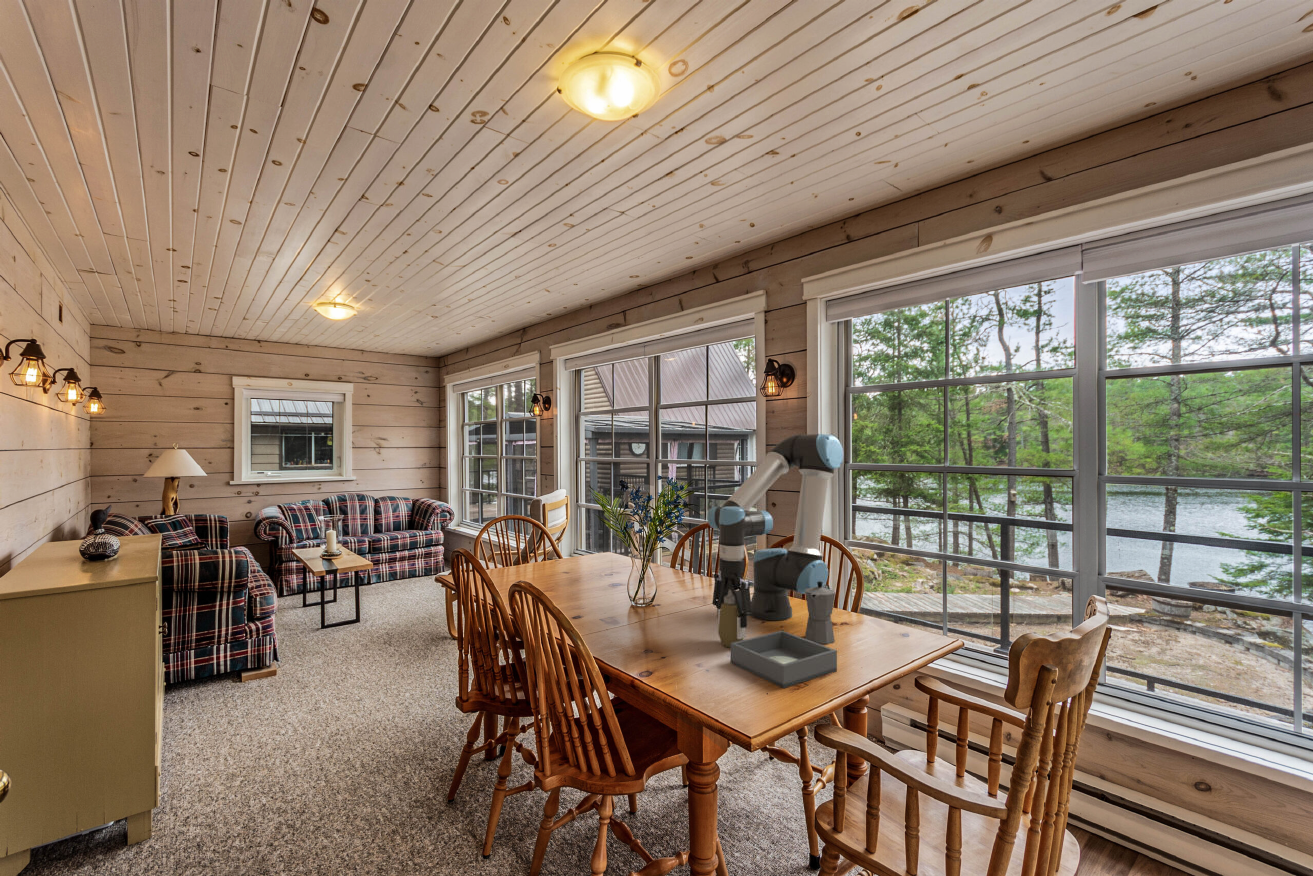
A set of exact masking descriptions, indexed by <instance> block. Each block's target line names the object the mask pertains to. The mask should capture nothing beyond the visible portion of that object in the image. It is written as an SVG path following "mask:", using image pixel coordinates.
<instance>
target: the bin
mask: <svg viewBox="0 0 1313 876" xmlns="http://www.w3.org/2000/svg"><path fill="white" fill-rule="evenodd" d="M731 663H732V665H733V664H734V665H733V666H735V667H738V668H739V669H742V670H744V671H746V670H747V671H746V672H748V671H749V673H750V672H751V674H752V673H753V675H754V674H755V676H757V677H759V678H761V679H763V680H765V681H767V682H769V683H771V682H772V684H773V683H774V685H775V684H776V686H777V687H780V688H782V689H787V688H789V686H790V687H793V686H795V685H799V684H802V683H804V682H808V681H811V680H813V679H817V678H820V677H823V676H826V674H827V675H829V673H830V674H832V672H833V673H836V672H837V671H838V650H837V649H834V648H831V647H829V646H826V645H824V644H818V643H815V642H812V641H810V640H807V639H806V638H803V637H801V636H798V635H795V634H793V633H790V632H788V631H785V630H778V631H774V632H769V633H766V634H762V635H758V636H755V637H750V638H747V639H745V638H744V639H743V640H741V641H737V642H733V643H731V647H730V664H731ZM822 675H823V676H822ZM819 676H820V677H819ZM786 687H787V688H786Z"/></svg>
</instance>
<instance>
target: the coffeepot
mask: <svg viewBox="0 0 1313 876" xmlns="http://www.w3.org/2000/svg"><path fill="white" fill-rule="evenodd" d="M822 583H823V582H821V581H818V582H817V584H818V587H812V588H807V589H805V593H806V594H805V600H806V606H807V613H808V617H807V623H806V629H805V635H804V637H805V638H804V639H807V640H810V641H812V642H815V643H818V644H820V645H830V644H829V643H831V644H833V643H834V642H835V633H834V629H833V622H832V614H833V610H834V602H835V596H836V593H835V590H834V589H831V587H830V585H829V584H827V583H826V584H825V585H824V586H822Z"/></svg>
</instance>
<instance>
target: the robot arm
mask: <svg viewBox="0 0 1313 876" xmlns="http://www.w3.org/2000/svg"><path fill="white" fill-rule="evenodd" d="M843 461H844V449H843V446H842V444H841V443H840V440H839V439H838V438H837V437H835V435H832V434H823V433H818V434H815V433H814V434H803V433H802V434H798V433H797V434H794V435H790V436H788V437H786V438H784V439H783V440H781V441H780V442H778V443H777V444H775V445H774V446H773V447H772V448H771V449H770V450H769V451H768V453H766V454H765V458H764V461H762V463H761V464H760V465H758V467H757V468H756V469H755V471H753V472H752V473H751V475H750V476H749V477H748V478H747V479H746V480H745V481H744V482H743V483H742V484H741V485H740V486H739V487H738V489H736V490H735V491H734V493H733V494H731V496H730V497H729V498H728V499H726V501H725V502H724V503H723V505H721V506H720V505H718V506H713V507H711V508H710V509H709V510H708V512H707V517H706V519H707V523H708V525H709V526H710V527H711V528H713V529H715V530H719V531H718V532H719V533H718V535H719V541H718V543H719V553H718V554H719V558H720V559H718V561H719V563H718V566H719V567H718V568H719V569H718V570H719V572H720V573H719V572H718V573H714V576H713V577H714V586H713V594H712V602H711V603H712V605H713V606H715V608H716V610H717V611H716V612H717V613H716V616H717V631H718V630H719V621H720V611H721V605H722V604H723V603H724V596H727V595H728V591H729V589H730V590H731V591H732V594H734V598H735V601H736V605H737V609H738V613H739V616H737V639H742V638H743V639H745V638H747V637H746V634H747V633H746V628H747V625H748V624H747V623H748V620H747V619H748V618H747V617H749V616H751V617H752V616H753V617H752V618H756V619H759V620H764V621H784V620H788V619H791V618H792V617H793V608H792V606H791V603H790V599H789V596H788V591H791V592H792V591H793V592H794V593H799V594H801V595H802V594H803V595H806V593H805V589H807V588H812V587H818V584H817V582H818V581H821V582H823V583H822V586H824V585H826V584H827V581H828V578H829V569H828V565H827V564H826V563H825V562H824V561H823V557H824V555H823V553H822V552H821V551H820V544H821V537H822V528H823V522H824V513H825V506H826V505H825V504H826V498H827V497H826V496H827V492H828V483H829V482H828V481H829V479H831V478H833V476H834V472H835V470H837V469H840V467H841V465H842V463H843ZM793 468H798V472H799V473H800V474H801V475H802V477H801V483H800V484H801V485H800V490H799V498H798V500H799V501H798V505H797V506H798V507H797V514H796V523H795V528H794V536H793V543H792V546H790V547H789V548H788V549H786V548H783V547H777V548H776V547H775V548H763V549H757V550H756V551H755V552H754V554H753V561H752V563H753V594H752V596H751V591H750V589H751V581H749V580H744V577H743V573H744V572H745V560H744V558H745V538H747V537H756V536H764V535H766V534H769V533H770V532H771V531H772V530H773V528H774V519H773V516H772V515H771V514H770V512H769V511H766V510H760V509H758V510H751V508H752V507H753V506H754V505H755V504H756V503H757V502H758V501H759V500H760V499H761V498H762V497H763V495H764V494H765V493H766V492H767V491H768V490H769V488H770V487H771V486H772V485H773V484H775V482H776V481H777V480H778V479H779V478H780V477H781V476H782V475H785V474H787V473H788V472H789V471H790V470H792V469H793ZM742 611H743V613H742Z"/></svg>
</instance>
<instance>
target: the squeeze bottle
mask: <svg viewBox="0 0 1313 876" xmlns="http://www.w3.org/2000/svg"><path fill="white" fill-rule="evenodd" d="M742 613H743V611H742ZM737 616H739V613H738V609H737V605H736V601H735V598H734V594H732V591H731V590H730V589H729V591H728V595H727V596H724V603H723V604H722V605H721V611H720V621H719V630H718V629H717V631H718V632H717V633H718V636H719V640H720V642H721V644H722V646H723V647H727V648H731V643H733V642H737V641H741V640H744V638H742V639H737Z"/></svg>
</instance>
